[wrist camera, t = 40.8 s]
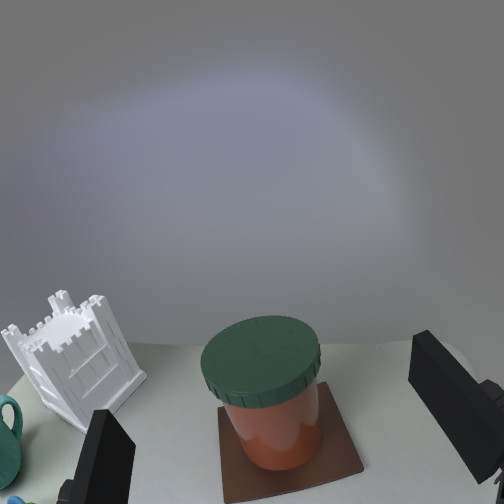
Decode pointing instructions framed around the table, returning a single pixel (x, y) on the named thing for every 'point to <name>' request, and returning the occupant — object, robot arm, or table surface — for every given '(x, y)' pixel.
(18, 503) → the rainbow fan wheeled toy
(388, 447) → the table surface
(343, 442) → the coaster
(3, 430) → the mug
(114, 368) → the castle model
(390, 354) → the table surface
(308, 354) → the lid
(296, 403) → the jar
